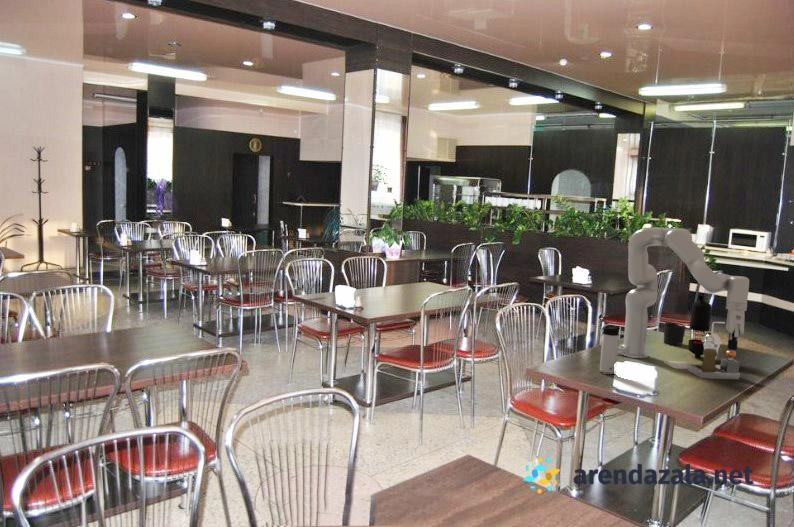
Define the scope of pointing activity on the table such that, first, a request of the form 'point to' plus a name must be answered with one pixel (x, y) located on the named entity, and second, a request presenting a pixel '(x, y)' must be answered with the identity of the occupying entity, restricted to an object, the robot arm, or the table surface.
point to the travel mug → (609, 349)
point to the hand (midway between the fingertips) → (732, 349)
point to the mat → (677, 364)
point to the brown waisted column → (709, 360)
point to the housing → (718, 370)
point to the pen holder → (673, 334)
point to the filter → (699, 324)
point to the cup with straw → (712, 340)
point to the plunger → (730, 354)
